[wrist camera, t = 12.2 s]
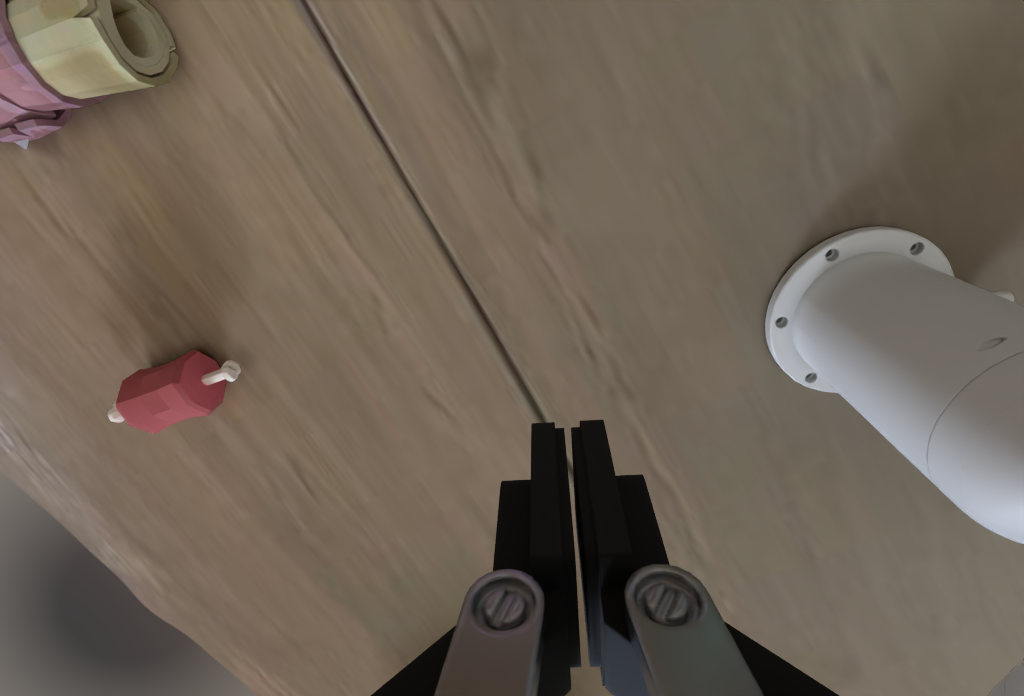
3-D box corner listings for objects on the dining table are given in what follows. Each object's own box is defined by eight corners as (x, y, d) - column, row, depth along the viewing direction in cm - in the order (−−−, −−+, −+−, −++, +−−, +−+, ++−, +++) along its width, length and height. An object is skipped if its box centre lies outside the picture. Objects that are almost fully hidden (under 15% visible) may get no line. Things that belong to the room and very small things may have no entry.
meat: (225, 325, 40) (201, 369, 37) (267, 368, 43) (248, 412, 40) (103, 373, 43) (69, 418, 39) (151, 410, 46) (123, 455, 42)
